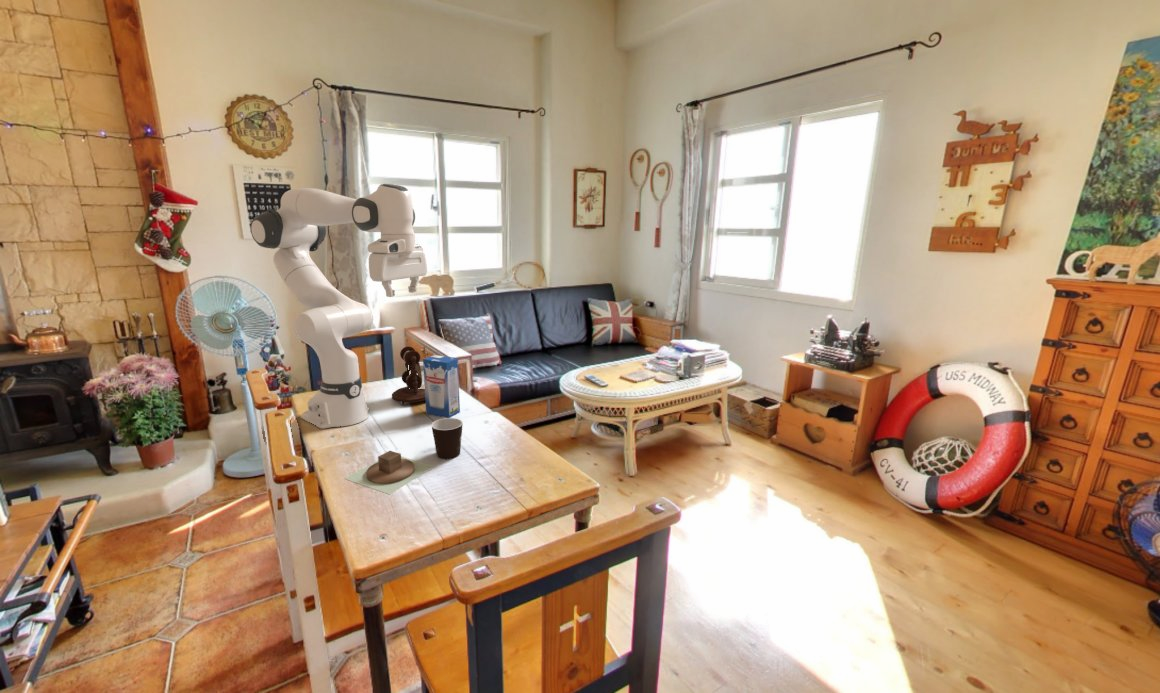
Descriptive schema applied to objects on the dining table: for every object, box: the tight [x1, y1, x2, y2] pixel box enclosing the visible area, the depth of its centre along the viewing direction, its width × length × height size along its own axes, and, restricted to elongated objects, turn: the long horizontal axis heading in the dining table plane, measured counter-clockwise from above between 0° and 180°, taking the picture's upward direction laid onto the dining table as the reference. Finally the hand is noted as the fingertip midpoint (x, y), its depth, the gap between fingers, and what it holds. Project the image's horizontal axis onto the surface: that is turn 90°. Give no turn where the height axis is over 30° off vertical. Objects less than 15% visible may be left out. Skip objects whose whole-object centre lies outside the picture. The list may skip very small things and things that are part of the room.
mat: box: [344, 455, 435, 495], centre depth 129 cm, size 16×16×1 cm
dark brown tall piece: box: [391, 346, 425, 406], centre depth 181 cm, size 15×15×20 cm
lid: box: [366, 450, 414, 484], centre depth 129 cm, size 12×12×5 cm
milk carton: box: [422, 354, 461, 418], centre depth 169 cm, size 10×6×20 cm, turn 67°
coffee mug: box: [431, 417, 464, 460], centre depth 141 cm, size 12×9×10 cm
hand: (402, 294), depth 138 cm, fingers open, 8 cm apart
